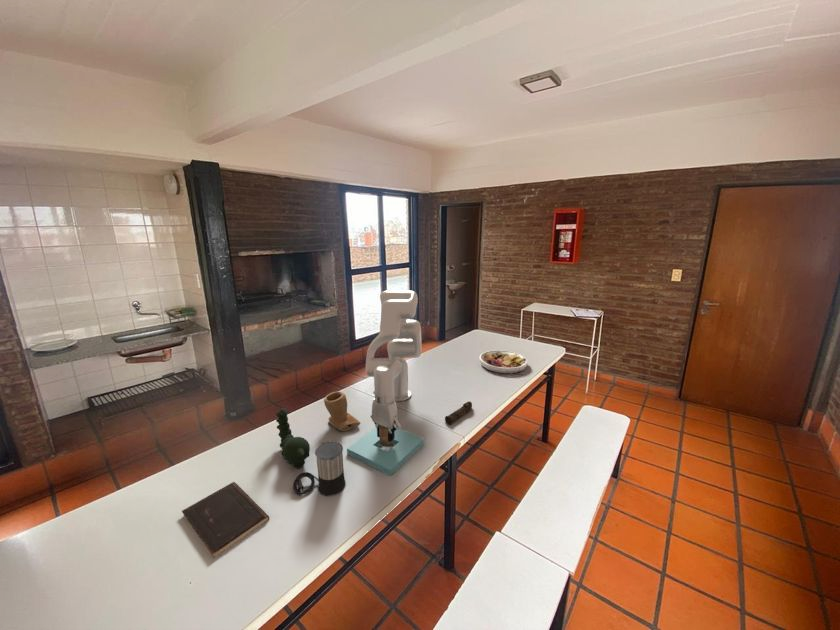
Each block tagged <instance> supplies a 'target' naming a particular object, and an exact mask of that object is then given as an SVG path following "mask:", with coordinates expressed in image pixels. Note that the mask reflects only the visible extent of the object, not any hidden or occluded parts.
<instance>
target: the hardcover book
mask: <svg viewBox="0 0 840 630" xmlns="http://www.w3.org/2000/svg"><path fill="white" fill-rule="evenodd" d="M181 512H182V514H183V516H184V517H185V518H186V519H187V521H188V523H190V525H191V527H192V528H193V529H194V531H195V532H196V534H197V535H198V537H199V538H200V539H201V541H202V542H203V544H204V545H205V546H206V548H207V549H208V550H209V552H210V553H211V555H212V556H213V557H214V558H215V557H218V555H220V554H221V553H222V552H225V550H227V549H228V548H230V547H231V546H233V545H234V544H235V543H238V542H239V541H240V540H242V539H243V538H244V537H245V536H247V535H249V534H250V533H251V532H253V531H254V530H255V529H257V528H259V527H260V526H261V525H263V524H264V523H266V522H267V521H269V520H270V515H268V514H267V513H266V512H265V511H264V509H262V508H261V506H260V505H259V504H257V503H256V502H255V500H254V499H252V497H250V496H249V495H248V494H247V492H245V490H243V488H241V487H240V486H239V484H237V483H236V482H235V481H232V482H231V483H229V484H227V485H226V486H224V487H222V488H220V489H219V490H216V491H215V492H213V493H211V494H209V495H208V496H206V497H203V498H202V499H200V500H198V501H196V502H195V503H193V504H191V505H190V506H188V507H186V508H185V509H182V510H181Z"/></svg>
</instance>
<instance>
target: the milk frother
mask: <svg viewBox="0 0 840 630" xmlns="http://www.w3.org/2000/svg"><path fill="white" fill-rule="evenodd" d="M343 451H344V446H343V445H342V444H341V442H339V441H338V442H337V441H333V440H332V441H330V440H327V441H323V442H321V444H320V445H318V446H317V447H316V449H315V451H314V454H315V457H316V467H317V476H315V475H314V474H313V473H311V472H308V471H307V472H306V471H304V472H301V473H299V474H298V475H297V476H296V477H295V479H294V481H293V483H292V490H293V492H294V493H295V494H296V495H306V494H308V493H310V492H311V491H312V490H313V488H314V487H315V484H316V481H317V482H318V488H317V490H318V492H319V493H320V494H321V495H324V496H326V497H327V496H328V497H330V496H335V495H338V494H339V493H341V492H342V491H343V490H344V488H345V486H346V480H345V471H344V470H345V469H344V457H343V456H344V455H343ZM303 478H309V480H310V485H309V486H308V488H306V489H304V488H305V485H303V481H301V480H302V479H303ZM315 480H316V481H315Z"/></svg>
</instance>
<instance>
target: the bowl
mask: <svg viewBox="0 0 840 630" xmlns="http://www.w3.org/2000/svg"><path fill="white" fill-rule="evenodd" d="M479 362H480V364H481V366H482V367H484V368H485V369H486V370H489V371H491V372H495V373H498V374H516V373H520V372H522V371H523V370H525V369H526V368H527V365H528V358H526V356H525V355H522V354H520V353H518V352H514V351H509V350H502V349H501V350H500V349H498V350H494V349H493V350H487V351H485V352H482V353H481V354H480V355H479Z"/></svg>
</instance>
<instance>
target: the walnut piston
mask: <svg viewBox="0 0 840 630" xmlns="http://www.w3.org/2000/svg"><path fill="white" fill-rule="evenodd" d="M391 429H392V427H391ZM388 433H389V429H388V428H387V427H384V426H382V425H379V436H380V445H379V446H381V447H389V446H392V445H393V444H392V441H391V442H389V441H388Z"/></svg>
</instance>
